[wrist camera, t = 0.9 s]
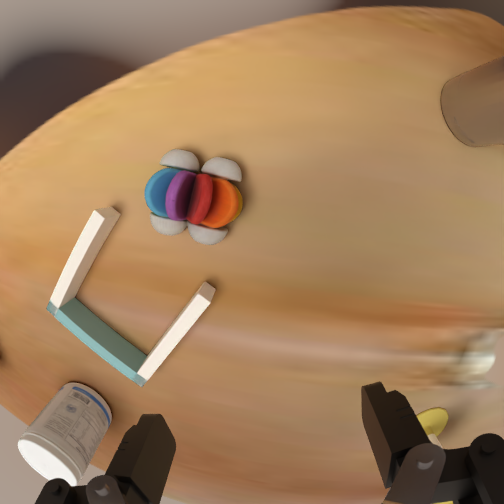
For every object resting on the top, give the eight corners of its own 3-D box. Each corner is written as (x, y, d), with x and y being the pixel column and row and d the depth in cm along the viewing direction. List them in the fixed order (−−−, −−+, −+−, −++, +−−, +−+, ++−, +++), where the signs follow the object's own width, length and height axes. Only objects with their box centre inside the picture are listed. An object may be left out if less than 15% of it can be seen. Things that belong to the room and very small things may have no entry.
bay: (111, 206, 32) (94, 209, 28) (215, 289, 33) (210, 302, 29) (62, 297, 34) (46, 308, 30) (151, 369, 36) (141, 387, 32)
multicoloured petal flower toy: (233, 245, 32) (226, 262, 25) (147, 224, 32) (120, 235, 25) (252, 166, 31) (251, 160, 24) (164, 147, 30) (139, 138, 23)
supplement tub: (82, 426, 39) (46, 484, 25) (52, 382, 38) (4, 436, 23) (125, 424, 39) (91, 493, 24) (94, 376, 37) (44, 442, 22)
